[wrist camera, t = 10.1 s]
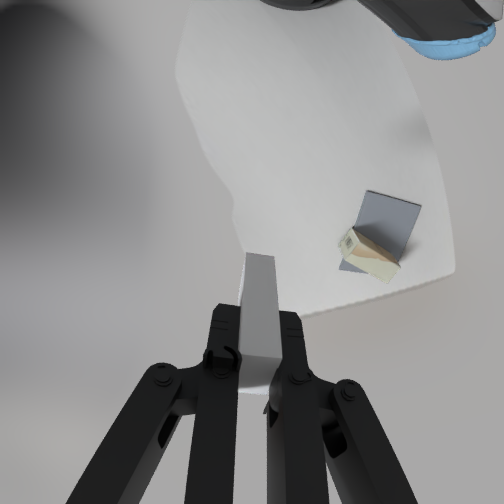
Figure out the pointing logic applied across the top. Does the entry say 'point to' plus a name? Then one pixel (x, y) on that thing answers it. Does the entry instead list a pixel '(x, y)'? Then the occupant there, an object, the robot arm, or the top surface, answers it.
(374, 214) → the mat
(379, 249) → the box
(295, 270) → the top surface
